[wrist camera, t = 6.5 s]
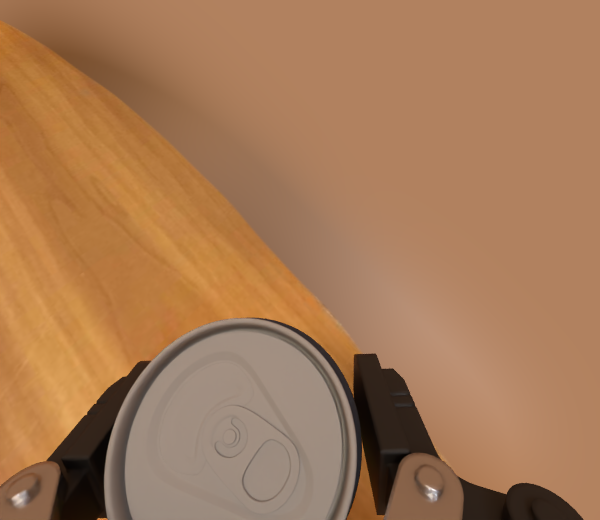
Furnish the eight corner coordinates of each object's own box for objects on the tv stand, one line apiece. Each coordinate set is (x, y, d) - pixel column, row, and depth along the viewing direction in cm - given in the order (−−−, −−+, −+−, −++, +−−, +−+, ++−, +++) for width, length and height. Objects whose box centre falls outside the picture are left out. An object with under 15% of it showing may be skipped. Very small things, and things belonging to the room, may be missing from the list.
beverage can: (349, 398, 20) (419, 405, 7) (298, 487, 18) (247, 760, 5) (279, 345, 22) (220, 266, 8) (225, 421, 20) (32, 480, 6)
